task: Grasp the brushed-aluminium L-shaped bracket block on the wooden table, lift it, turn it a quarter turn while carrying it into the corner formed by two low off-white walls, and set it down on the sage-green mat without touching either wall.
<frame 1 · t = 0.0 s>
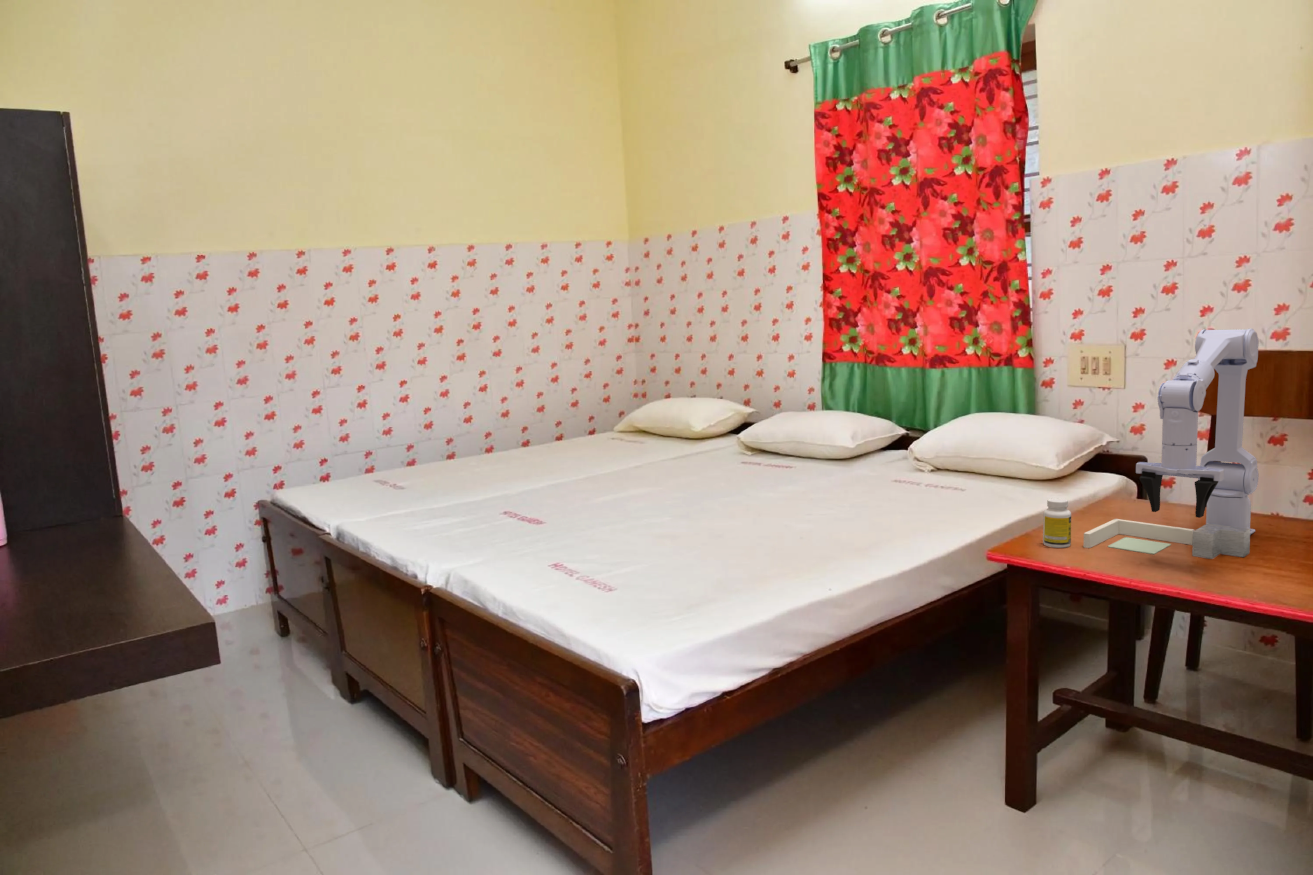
hand: (1177, 513, 167), 10 cm above the table, tool pointing down, fingers open, 7 cm apart
mat: (1139, 545, 182), on the table
bracket: (1209, 552, 175), on the table
supplement bottle: (1056, 545, 186), on the table
arena: (1139, 545, 182), on the table
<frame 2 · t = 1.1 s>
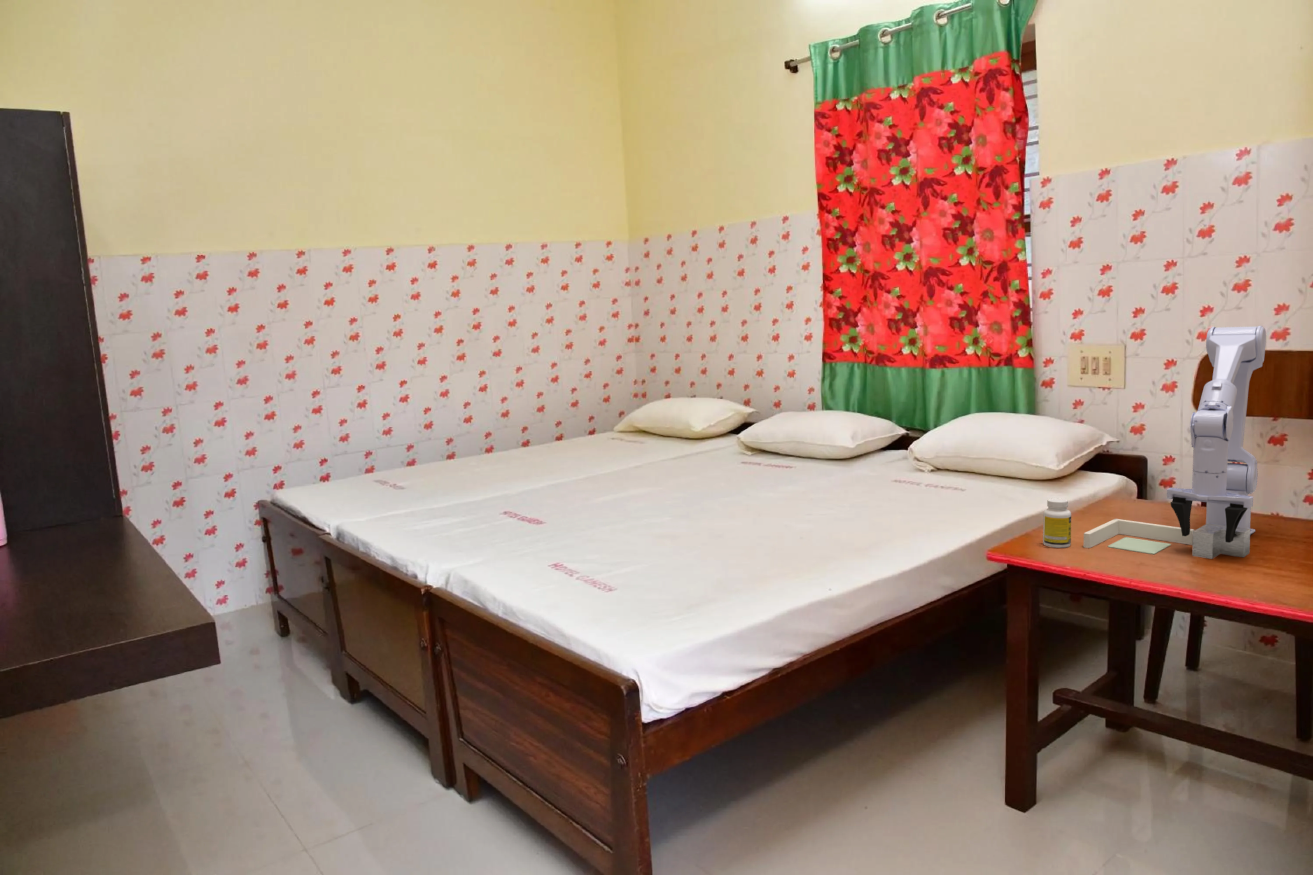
hand: (1207, 538, 173), 3 cm above the table, tool pointing down, fingers open, 7 cm apart
nothing on the table moved.
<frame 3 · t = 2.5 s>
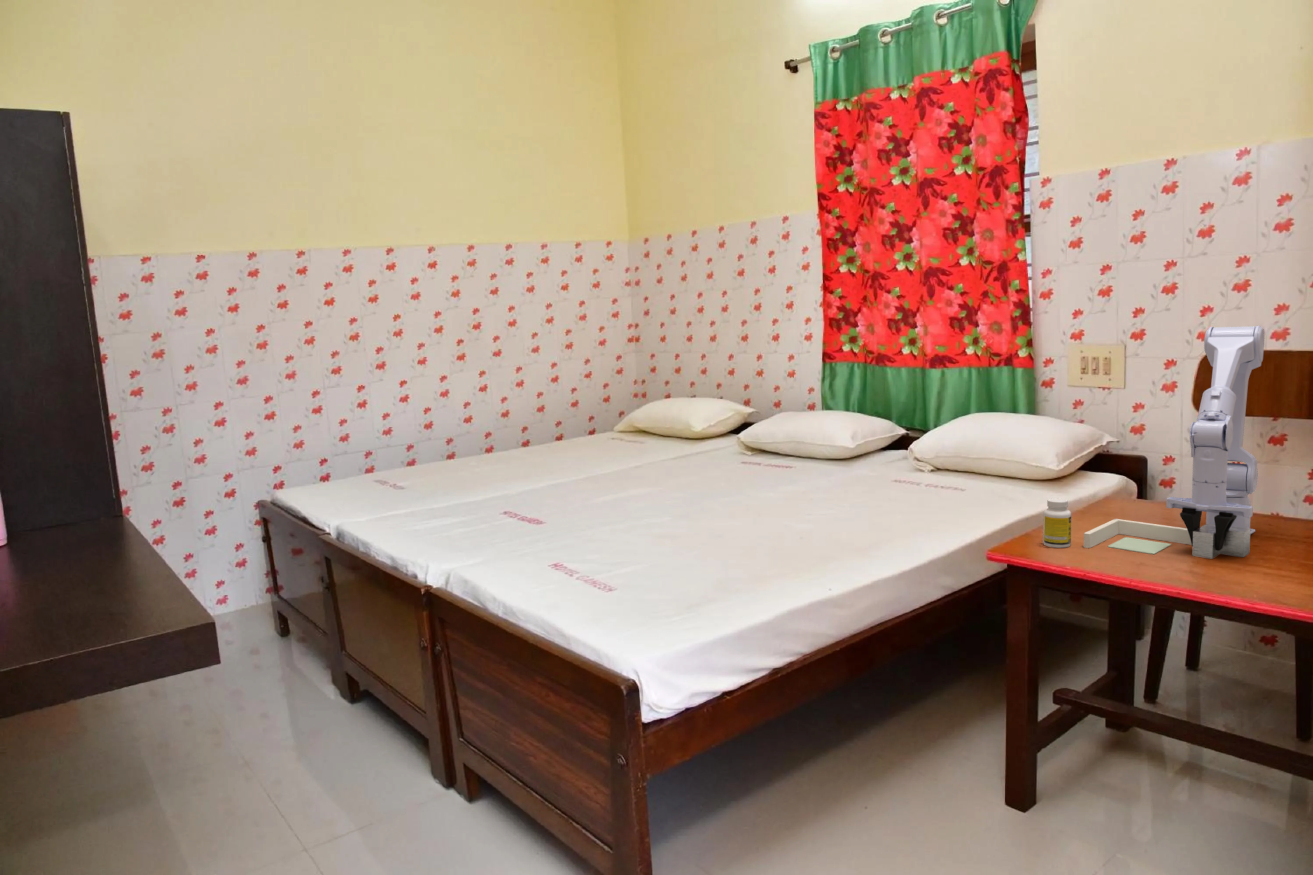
hand: (1206, 547, 174), 1 cm above the table, tool pointing down, fingers closed on bracket, 3 cm apart
bracket: (1209, 552, 175), on the table, touching gripper
everything else where it was.
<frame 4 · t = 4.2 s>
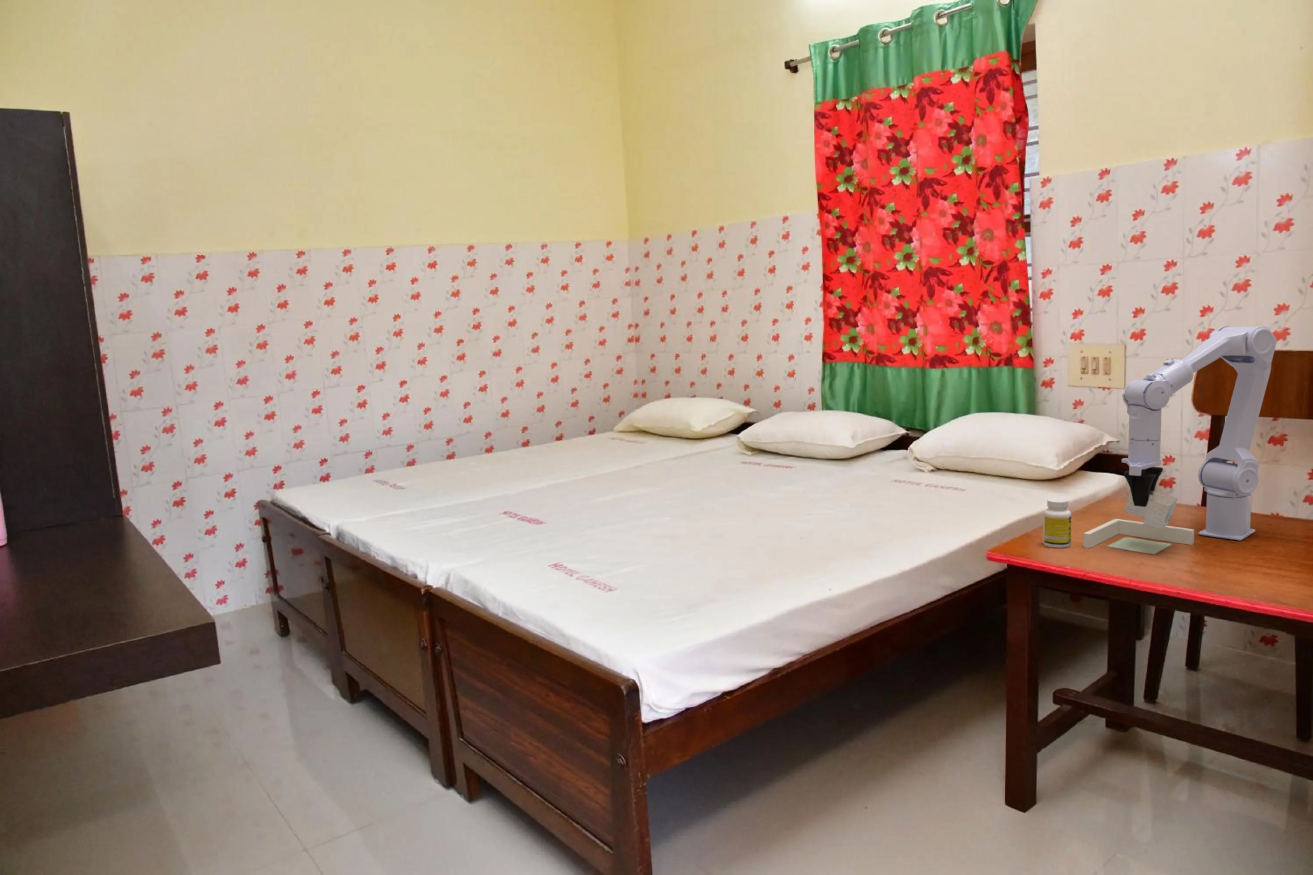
hand: (1142, 503, 181), 9 cm above the table, tool pointing down, fingers closed on bracket, 3 cm apart
bracket: (1147, 515, 180), point 7 cm above the table, tilted 13°, touching gripper
everything else where it was.
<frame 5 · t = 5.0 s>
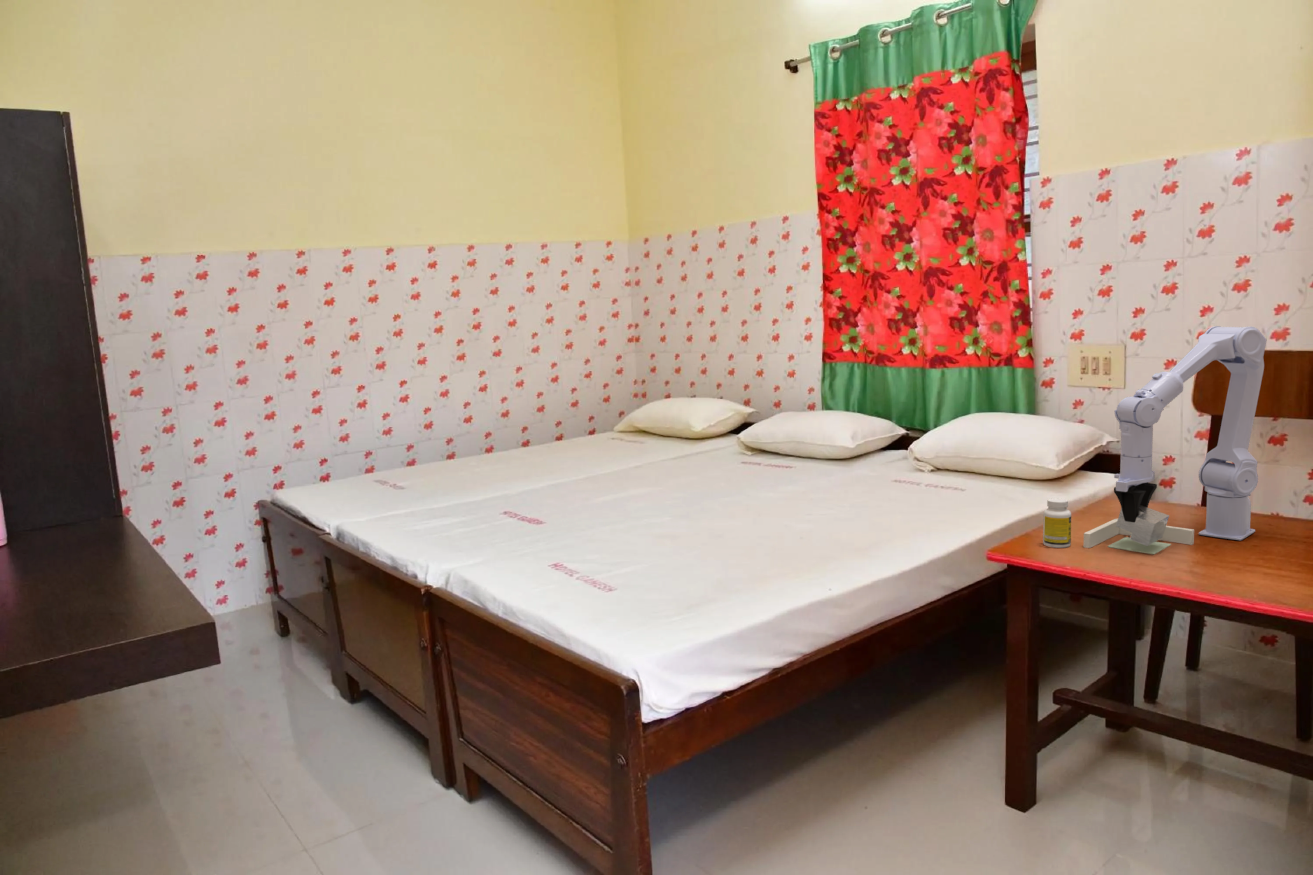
hand: (1134, 519, 182), 5 cm above the table, tool pointing down, fingers closed on bracket, 3 cm apart
bracket: (1138, 531, 182), point 3 cm above the table, tilted 14°, touching gripper
everything else where it was.
when the fingers open (3 cm above the table, at t = 5.9 s): bracket stays where it is, resting on mat.
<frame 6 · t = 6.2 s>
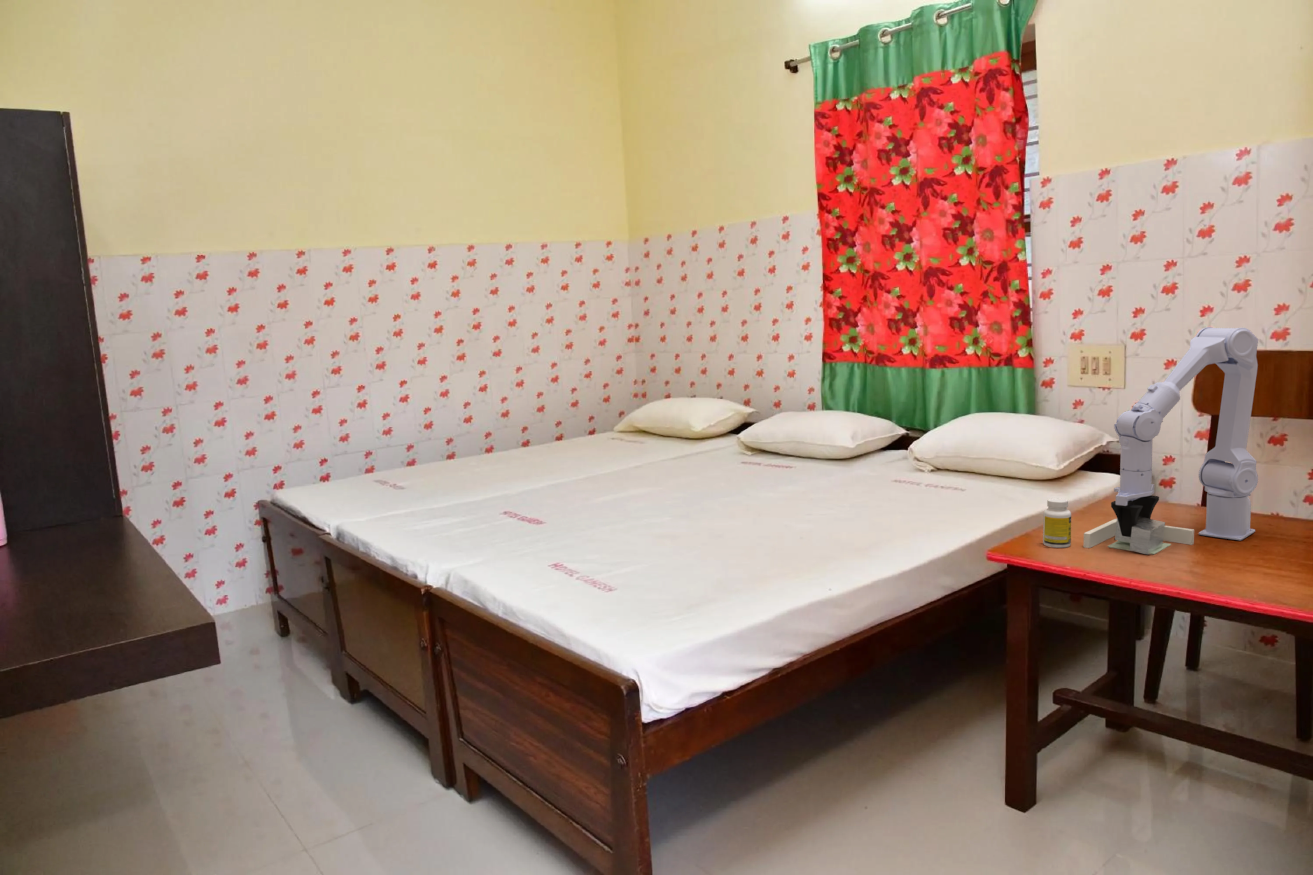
hand: (1134, 532, 183), 3 cm above the table, tool pointing down, fingers open, 6 cm apart
bracket: (1138, 542, 182), point 1 cm above the table, tilted 6°, touching gripper, mat
everything else where it was.
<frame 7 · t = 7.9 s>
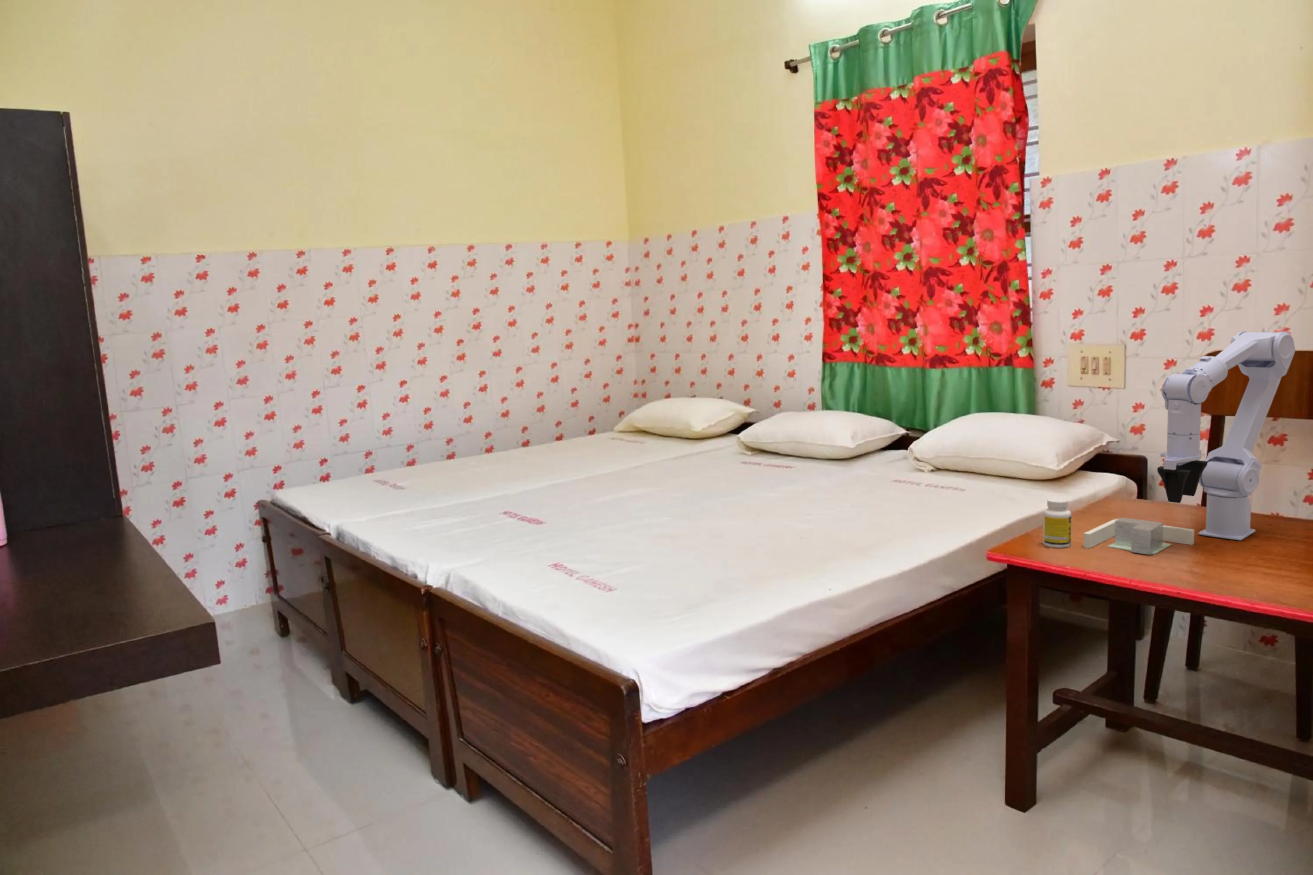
hand: (1181, 498, 179), 10 cm above the table, tool pointing down, fingers open, 7 cm apart
bracket: (1138, 545, 182), resting on mat
everything else where it was.
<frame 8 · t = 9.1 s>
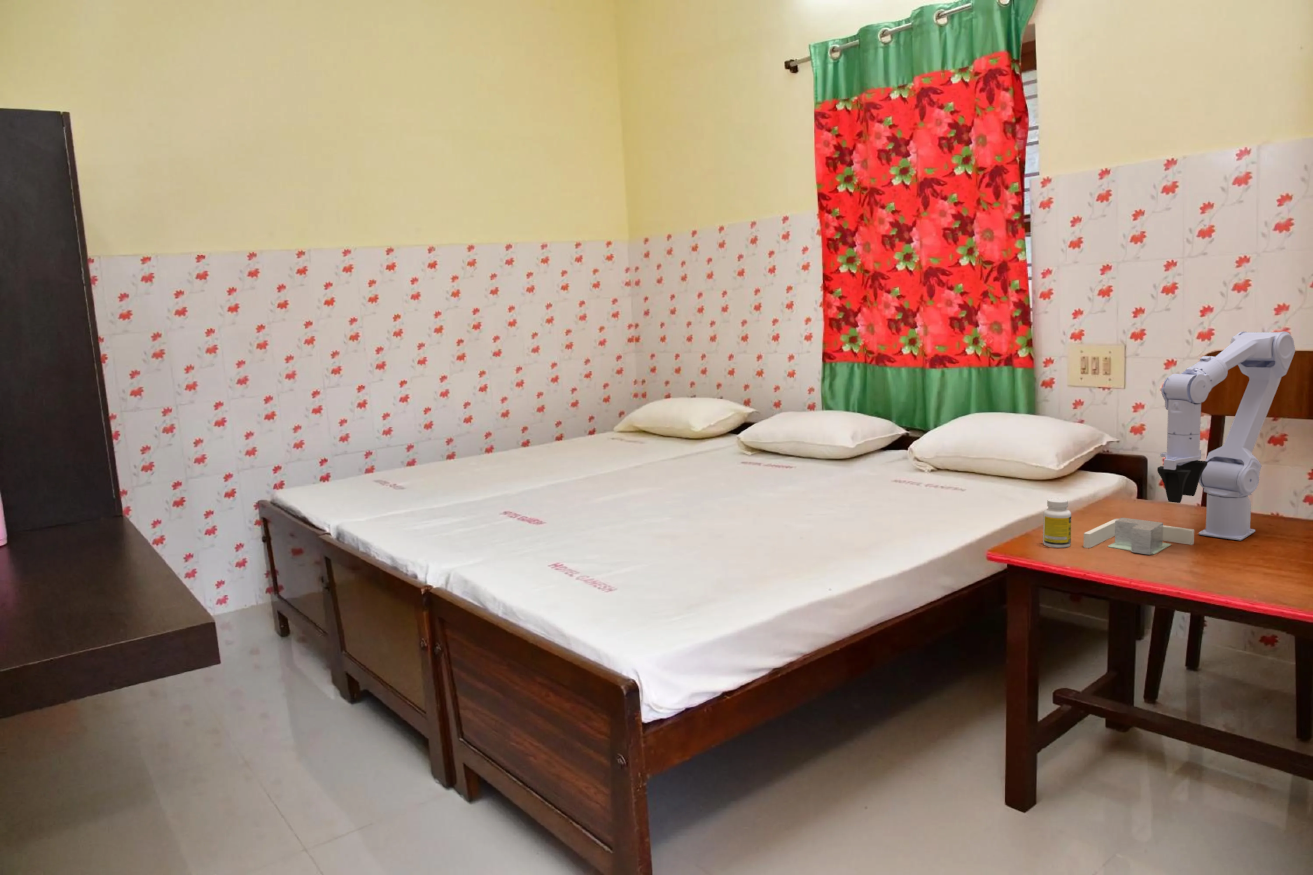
hand: (1181, 498, 179), 10 cm above the table, tool pointing down, fingers open, 7 cm apart
nothing on the table moved.
at the end: bracket inside the target area (0.4 cm from its centre), resting on mat; bracket tilted 0°; bracket touching mat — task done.
